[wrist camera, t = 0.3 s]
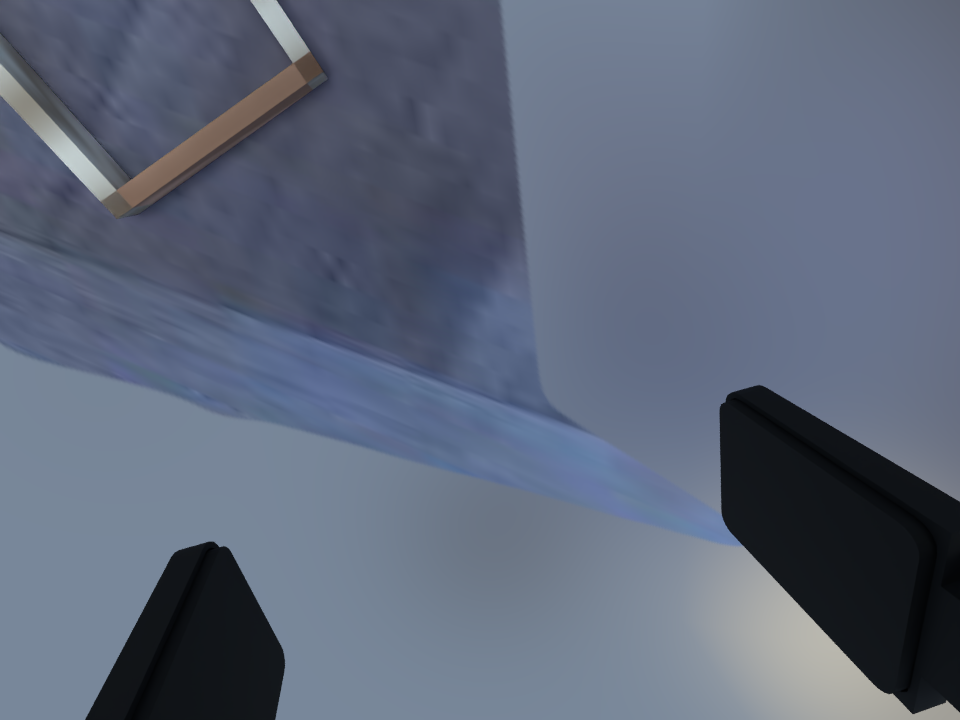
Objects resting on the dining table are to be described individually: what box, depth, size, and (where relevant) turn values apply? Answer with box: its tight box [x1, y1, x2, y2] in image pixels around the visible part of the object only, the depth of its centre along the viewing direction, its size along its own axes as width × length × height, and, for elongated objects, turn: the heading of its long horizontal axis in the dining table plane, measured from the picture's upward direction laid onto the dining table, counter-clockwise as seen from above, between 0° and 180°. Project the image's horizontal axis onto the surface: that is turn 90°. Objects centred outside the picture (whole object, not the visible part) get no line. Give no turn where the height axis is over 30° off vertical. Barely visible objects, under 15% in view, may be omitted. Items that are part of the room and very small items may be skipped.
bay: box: [0, 0, 328, 219], centre depth 29 cm, size 14×15×3 cm
